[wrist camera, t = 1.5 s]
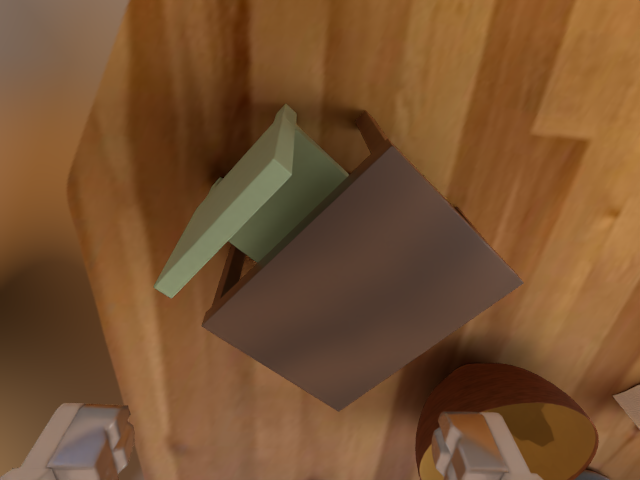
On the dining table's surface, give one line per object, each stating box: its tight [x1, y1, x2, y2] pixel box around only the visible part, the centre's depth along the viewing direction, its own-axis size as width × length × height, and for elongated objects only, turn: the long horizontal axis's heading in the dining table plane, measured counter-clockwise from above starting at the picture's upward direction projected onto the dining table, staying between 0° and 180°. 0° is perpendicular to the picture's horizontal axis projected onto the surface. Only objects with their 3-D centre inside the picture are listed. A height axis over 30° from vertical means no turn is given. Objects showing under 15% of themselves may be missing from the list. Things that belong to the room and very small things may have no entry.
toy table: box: [202, 111, 523, 411], centre depth 33 cm, size 14×18×11 cm
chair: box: [154, 104, 349, 298], centre depth 28 cm, size 10×10×15 cm
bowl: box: [415, 363, 599, 480], centre depth 44 cm, size 18×18×10 cm
